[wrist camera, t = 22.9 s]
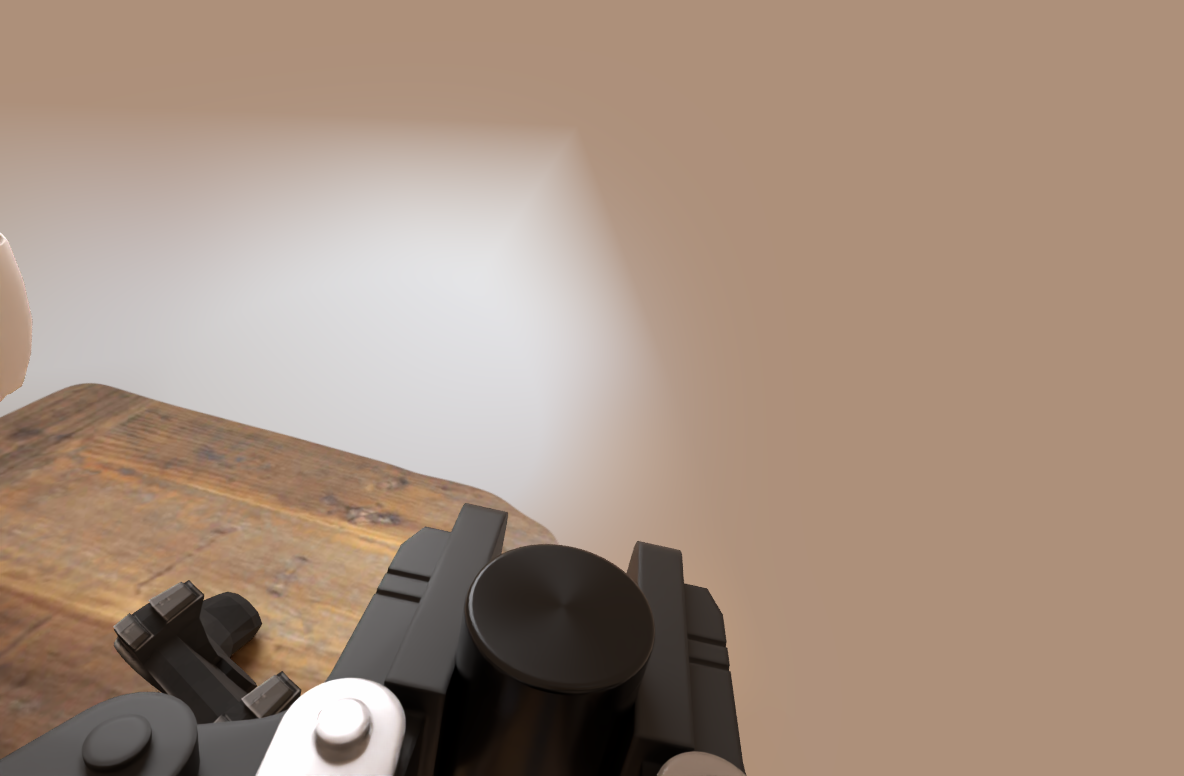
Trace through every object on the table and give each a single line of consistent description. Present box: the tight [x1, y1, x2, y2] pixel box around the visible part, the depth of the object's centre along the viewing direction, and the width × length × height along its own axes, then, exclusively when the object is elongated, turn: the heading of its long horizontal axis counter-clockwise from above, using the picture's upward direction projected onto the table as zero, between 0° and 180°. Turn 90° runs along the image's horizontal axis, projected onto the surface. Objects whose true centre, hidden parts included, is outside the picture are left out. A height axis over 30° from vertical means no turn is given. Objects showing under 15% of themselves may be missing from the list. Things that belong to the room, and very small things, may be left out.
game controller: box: [113, 580, 301, 724], centre depth 36 cm, size 16×7×10 cm, turn 56°
